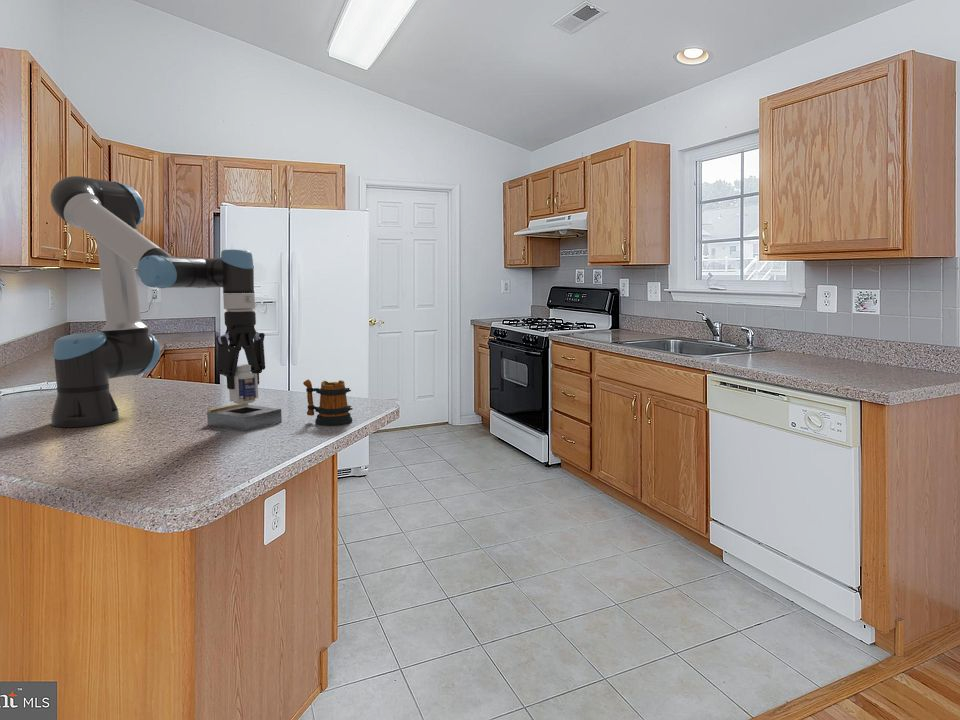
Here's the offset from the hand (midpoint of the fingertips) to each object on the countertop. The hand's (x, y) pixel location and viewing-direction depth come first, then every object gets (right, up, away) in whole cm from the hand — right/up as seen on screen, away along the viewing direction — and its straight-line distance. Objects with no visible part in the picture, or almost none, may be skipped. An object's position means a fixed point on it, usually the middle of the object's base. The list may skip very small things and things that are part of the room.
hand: (244, 399), depth 161 cm
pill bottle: (0, -1, 0) cm, 1 cm away
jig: (0, -6, +1) cm, 7 cm away
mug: (+21, -6, +3) cm, 23 cm away
